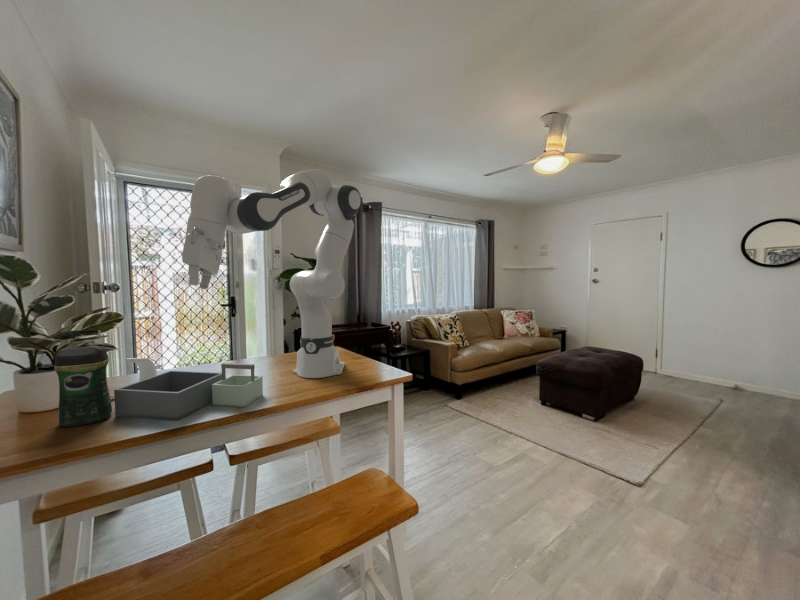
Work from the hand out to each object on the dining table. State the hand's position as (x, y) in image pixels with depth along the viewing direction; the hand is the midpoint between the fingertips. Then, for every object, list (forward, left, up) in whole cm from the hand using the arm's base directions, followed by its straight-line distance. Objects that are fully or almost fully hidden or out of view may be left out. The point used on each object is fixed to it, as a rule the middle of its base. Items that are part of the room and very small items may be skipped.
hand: (198, 287), depth 87 cm
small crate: (-10, +4, -34) cm, 35 cm away
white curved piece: (-10, -27, -34) cm, 45 cm away
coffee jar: (+8, -25, -34) cm, 43 cm away
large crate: (-4, -11, -34) cm, 36 cm away
